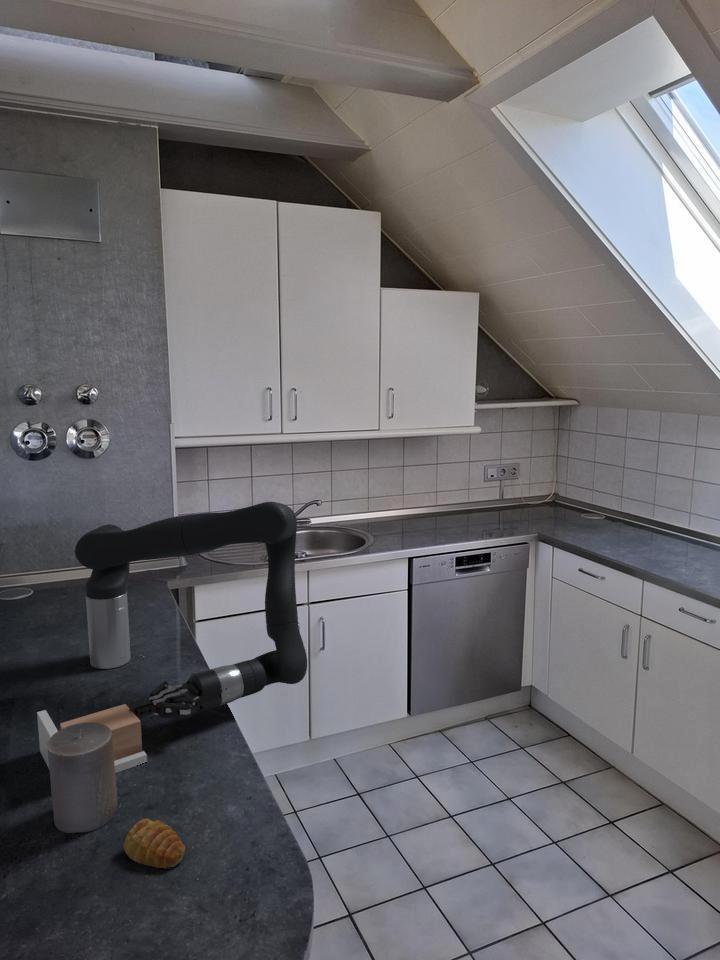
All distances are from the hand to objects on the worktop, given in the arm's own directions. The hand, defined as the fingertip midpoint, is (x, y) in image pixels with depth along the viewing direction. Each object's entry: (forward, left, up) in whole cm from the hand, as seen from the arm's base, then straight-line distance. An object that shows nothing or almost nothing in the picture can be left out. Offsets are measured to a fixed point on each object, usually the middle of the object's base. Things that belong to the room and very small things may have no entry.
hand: (131, 712), depth 132 cm
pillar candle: (+16, -13, -7) cm, 22 cm away
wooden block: (+1, -6, -7) cm, 9 cm away
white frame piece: (0, -7, -7) cm, 9 cm away
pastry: (+31, -7, -7) cm, 32 cm away
